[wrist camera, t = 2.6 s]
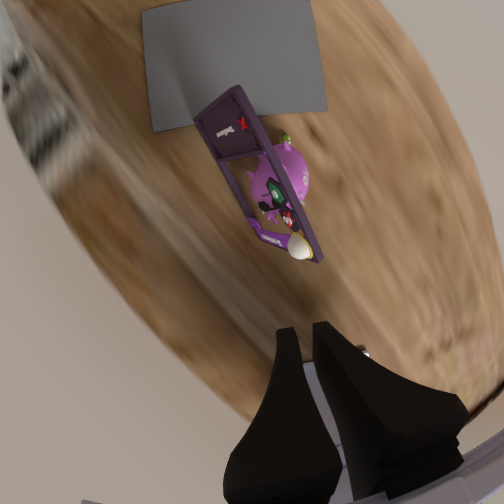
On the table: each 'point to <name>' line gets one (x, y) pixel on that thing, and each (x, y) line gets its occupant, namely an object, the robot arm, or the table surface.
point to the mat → (231, 57)
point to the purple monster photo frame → (261, 170)
